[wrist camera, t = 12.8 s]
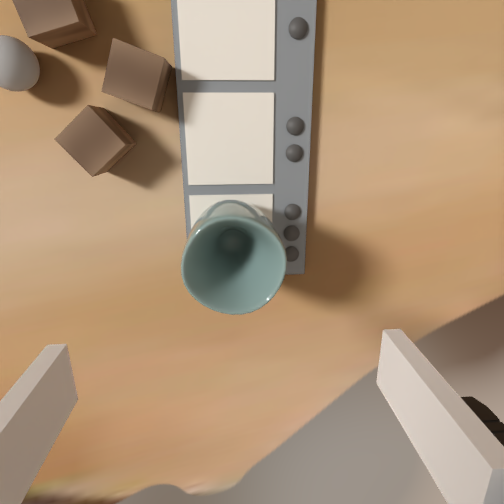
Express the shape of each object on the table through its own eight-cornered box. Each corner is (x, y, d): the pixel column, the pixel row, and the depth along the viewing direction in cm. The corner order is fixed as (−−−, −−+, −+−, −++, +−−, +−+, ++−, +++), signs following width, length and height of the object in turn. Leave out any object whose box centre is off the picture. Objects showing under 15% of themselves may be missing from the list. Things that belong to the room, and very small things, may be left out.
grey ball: (-6, 41, 30) (-39, 28, 26) (44, 42, 30) (17, 29, 26) (5, 93, 31) (-25, 88, 27) (52, 93, 31) (28, 88, 28)
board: (170, -33, 29) (167, -40, 28) (315, -30, 30) (318, -37, 29) (190, 273, 38) (189, 278, 37) (302, 270, 39) (304, 274, 37)
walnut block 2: (74, 138, 33) (54, 139, 29) (104, 108, 32) (87, 105, 28) (107, 171, 34) (92, 176, 30) (136, 143, 33) (125, 144, 30)
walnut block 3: (126, 49, 31) (112, 37, 27) (171, 66, 32) (164, 58, 28) (116, 96, 32) (101, 91, 28) (160, 112, 33) (151, 110, 29)
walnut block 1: (30, -5, 29) (1, -25, 25) (77, -20, 29) (54, -42, 25) (52, 48, 30) (28, 37, 27) (97, 35, 30) (78, 21, 27)
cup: (285, 213, 35) (306, 244, 26) (249, 279, 37) (257, 330, 28) (213, 178, 34) (207, 196, 24) (180, 249, 36) (163, 291, 26)
